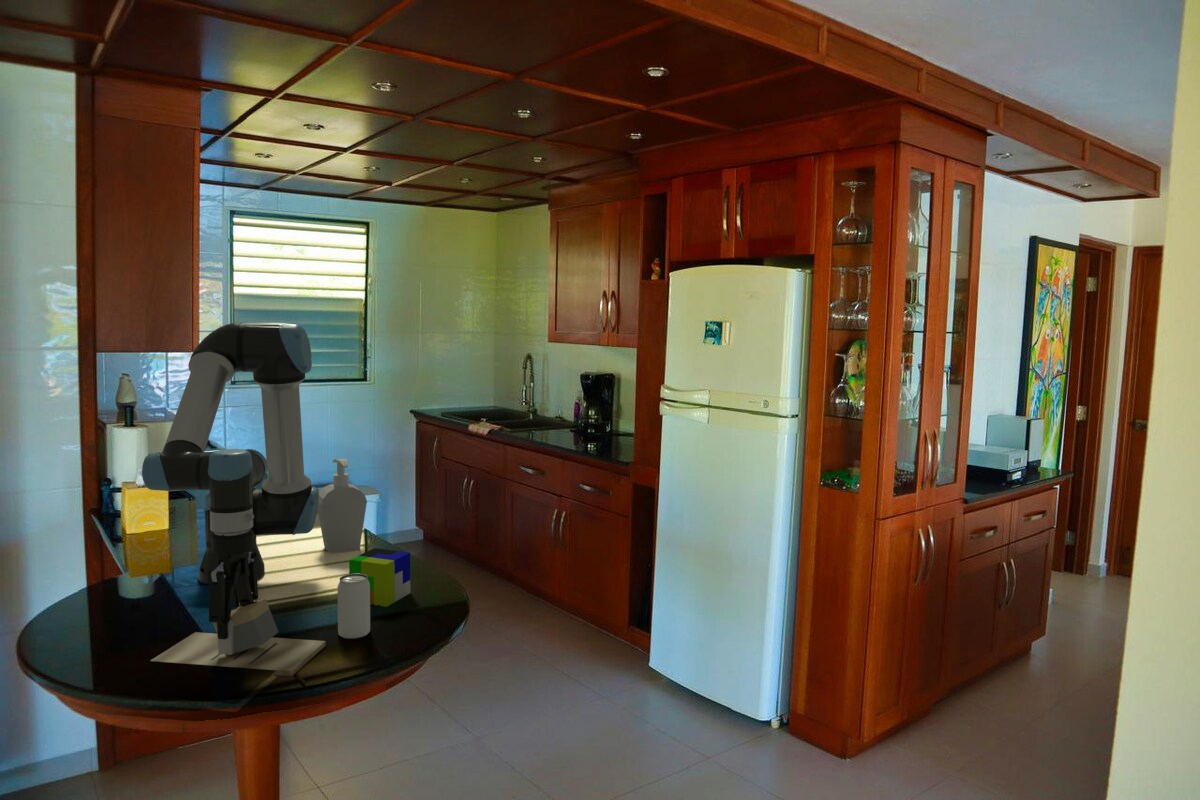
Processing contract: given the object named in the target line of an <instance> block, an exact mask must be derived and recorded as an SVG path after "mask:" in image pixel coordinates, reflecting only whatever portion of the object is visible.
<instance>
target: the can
mask: <svg viewBox="0 0 1200 800" xmlns="http://www.w3.org/2000/svg"><path fill="white" fill-rule="evenodd" d="M367 578H368V577H367V576H366V575H364V574H349V573H348V574H345V575H341V576H340V577H339V582H338V584H337V632H338V633H337V634H338V636H340V638H341V639H347V640H355V639H356V640H357V639H360V638H361V639H362V638H364V637H366V636H367V635H368V634H369V633H370V631H371V604H370V584H369V581H368V580H367Z"/></svg>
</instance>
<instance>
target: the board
mask: <svg viewBox="0 0 1200 800" xmlns="http://www.w3.org/2000/svg"><path fill="white" fill-rule="evenodd" d="M326 645H327V644H326V640H314V639H302V638H301V639H300V638H285V637H274V636H273V637H271V638H270V639H269V640H268V641H266V642H265V643H264V644H262V645H259V646H256V647H253V648H250V649H247V650H243V651H240V652H237V653H234V654H232V655H228V656H226V655H225V654H218V635H217V633H214V632H213V633H212V632H197V631H195V632H193V633H191V634H190V635H189V636H187V637H184V638H183V639H182V640H181V641H179V642H177V643H176V644H174V645H172V646H171V647H170V648H168V649H167V650H165V651H164V652H161V653H160V654H158V655H157V656H155V657H154V658H151V659H150V660H149V662H156V663H157V662H158V663H169V664H171V663H173V664H186V665H199V666H211V667H212V666H215V667H224V668H225V667H227V668H241V669H242V668H243V669H253V670H255V669H256V670H266V671H267V670H268V671H273V672H272V673H271V674H270V675H271V676H280V677H281V676H282V677H283V676H284V677H293V676H294V675H295V674H296V673H297V672H298V671H299V670H301V668H303V667H304V666H305V665H306V664H307V663H309V662H310V660H312V658H314V657H315V656H316V655H317V654H318V653H319V652H320V651H322V650H323V649H324V648H325V647H327V646H326Z"/></svg>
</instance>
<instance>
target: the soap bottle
mask: <svg viewBox="0 0 1200 800" xmlns="http://www.w3.org/2000/svg"><path fill="white" fill-rule="evenodd" d="M332 463H336V473H334V474H333V476H332V477H333V483H330V484H328V485H326V486H324V487H323V488H321V490H320V491H319V500H318V509H317V515H318V520H319V525H320V531H321V536H322V541H323V542H322V543H323V545H324V549H325V550H326V551H327V553H328V554H337V553H345V552H353V551H359V550H360V549H361V542H362V537H363V536H362V535H363V529H364V523H365V517H366V511H367V502H368V501H367V497H366V495H365V493H363V492H362V491H361V490H360V489H359V488H358V487H356V486H355V485H353V484H351V483H350V482H349V478H350V477H349V473H347V472H346V473H345V468H348V467H349V465H348V464H349V463H348V459H347V458H336V459H333V460H332Z"/></svg>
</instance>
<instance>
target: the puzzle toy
mask: <svg viewBox="0 0 1200 800" xmlns="http://www.w3.org/2000/svg"><path fill="white" fill-rule="evenodd" d="M348 570H349V571H348V574H364V575H366V576H367V577H368V578H367V580H368V581H369V584H370V605H372V604H374V605H373V606H378V605H380V606H379V607H385V608H387V607H388V606H391V605H392V604H394V603H396V602H397V601H399V600H401V599H403V598H404V597H406V596H407V595H410V594H411V552H407V551H399V550H393V549H386V548H385V549H384V548H375V547H373V548H372V549H369V550H368V551H365V552H362V553H360V554H359V555H355V556H354V557H352V558H350V559H348Z"/></svg>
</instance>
